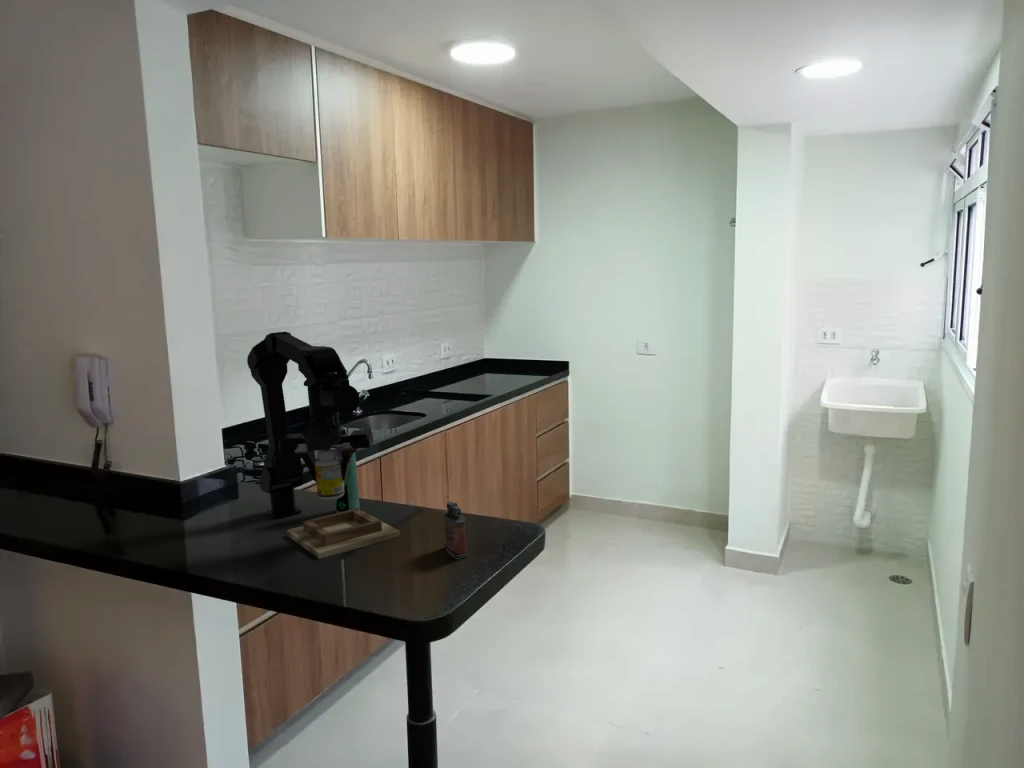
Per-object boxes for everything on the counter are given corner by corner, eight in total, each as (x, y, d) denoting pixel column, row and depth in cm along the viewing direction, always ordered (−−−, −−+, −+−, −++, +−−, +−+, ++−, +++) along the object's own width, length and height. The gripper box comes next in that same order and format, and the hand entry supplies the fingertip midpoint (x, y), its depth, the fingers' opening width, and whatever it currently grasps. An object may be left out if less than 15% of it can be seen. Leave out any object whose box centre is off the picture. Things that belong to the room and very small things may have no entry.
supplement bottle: (321, 493, 161) (317, 447, 160) (347, 492, 161) (343, 446, 160) (315, 501, 156) (310, 453, 154) (341, 500, 156) (337, 452, 154)
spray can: (350, 506, 181) (343, 425, 178) (364, 509, 178) (358, 427, 175) (331, 512, 177) (324, 430, 174) (346, 516, 174) (339, 432, 170)
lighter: (441, 547, 151) (438, 499, 150) (457, 544, 153) (454, 497, 151) (454, 560, 144) (451, 511, 142) (471, 557, 145) (468, 508, 144)
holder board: (287, 535, 163) (285, 521, 162) (363, 516, 173) (362, 502, 173) (319, 558, 148) (317, 543, 148) (400, 536, 159) (398, 521, 158)
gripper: (267, 418, 148) (274, 494, 150) (361, 413, 148) (368, 489, 150) (282, 408, 159) (289, 479, 161) (370, 403, 159) (376, 474, 161)
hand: (330, 480), depth 158 cm, fingers closed on supplement bottle, 5 cm apart
